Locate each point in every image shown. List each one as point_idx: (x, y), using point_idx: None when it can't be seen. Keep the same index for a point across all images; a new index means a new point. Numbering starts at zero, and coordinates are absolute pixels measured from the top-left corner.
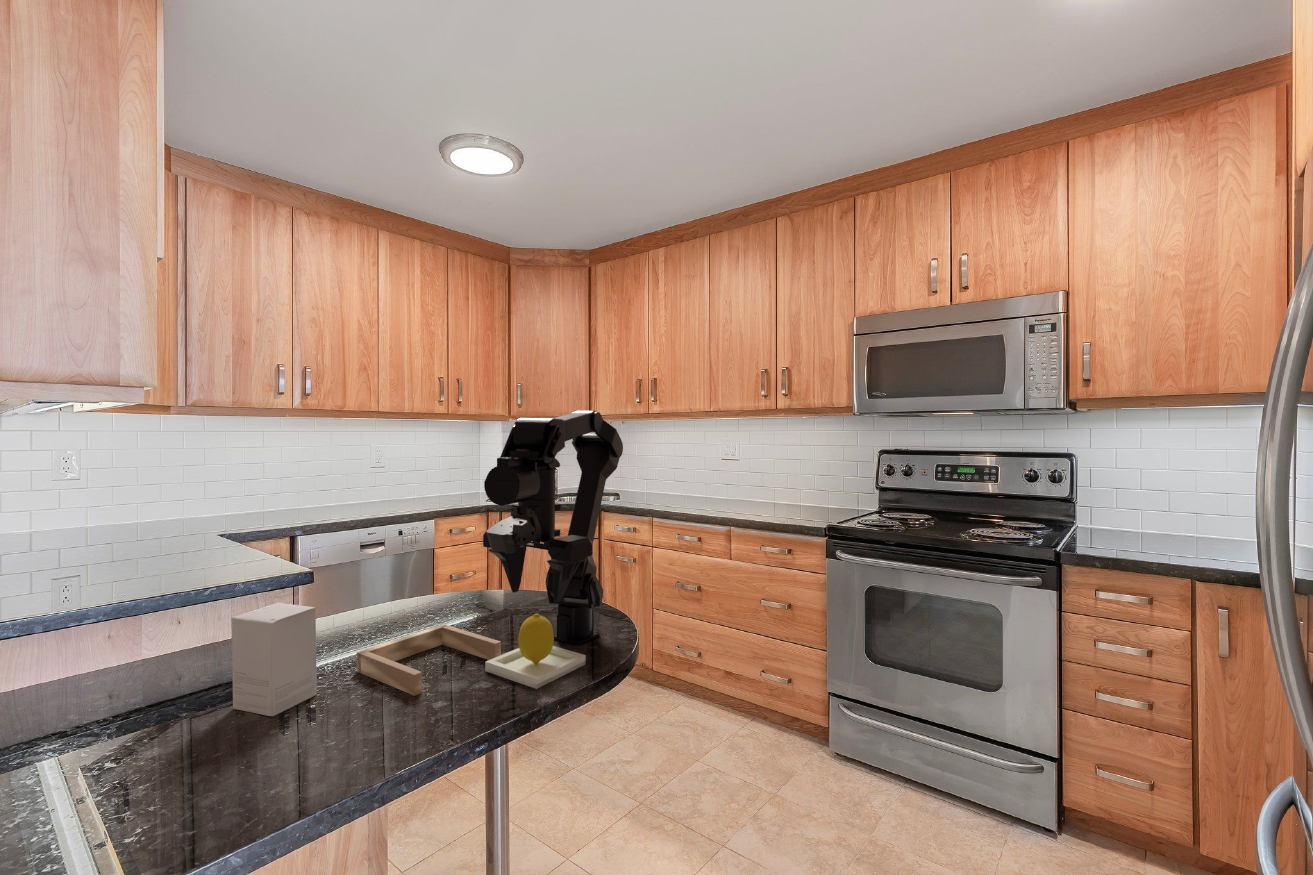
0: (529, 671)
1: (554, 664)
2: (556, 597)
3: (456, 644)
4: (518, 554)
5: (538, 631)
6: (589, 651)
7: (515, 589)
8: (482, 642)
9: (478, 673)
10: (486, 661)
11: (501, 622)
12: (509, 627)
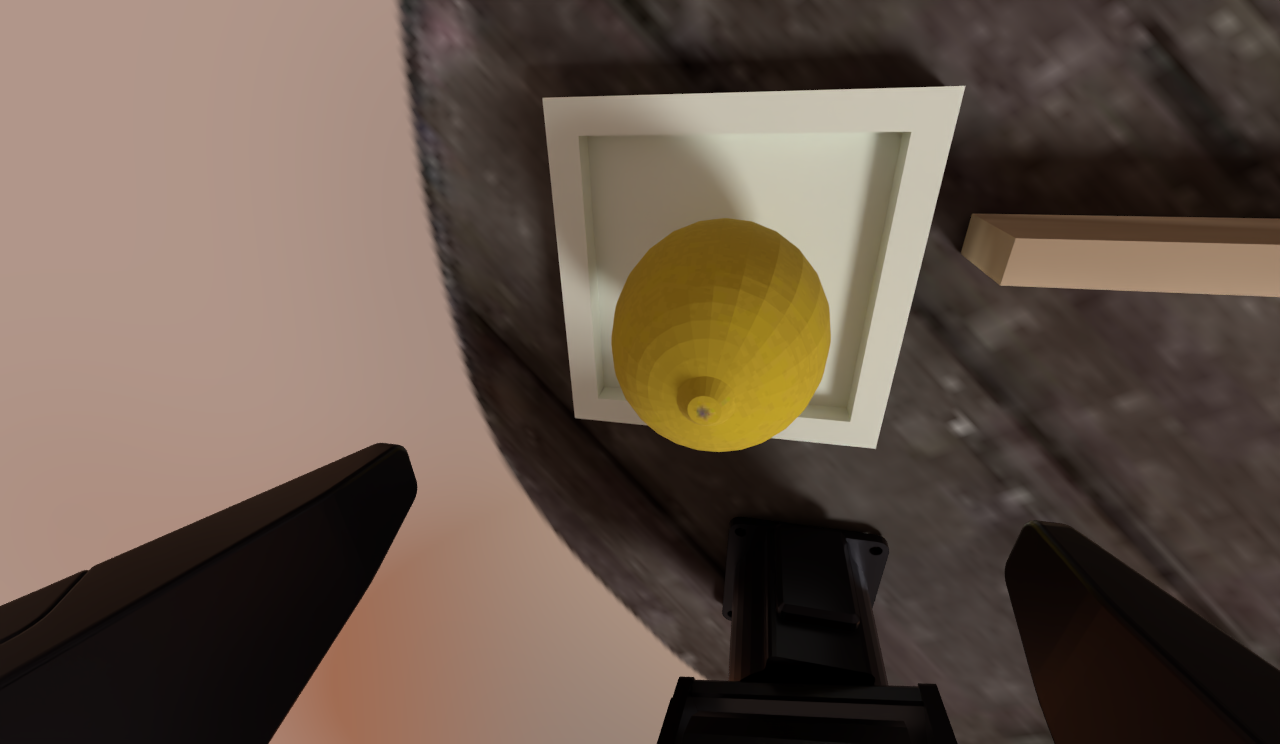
0: (690, 195)
1: None
2: (333, 464)
3: None
4: None
5: (632, 302)
6: (659, 492)
7: (1032, 561)
8: (1148, 236)
9: (967, 35)
10: (959, 93)
11: (1273, 602)
12: (1180, 568)
